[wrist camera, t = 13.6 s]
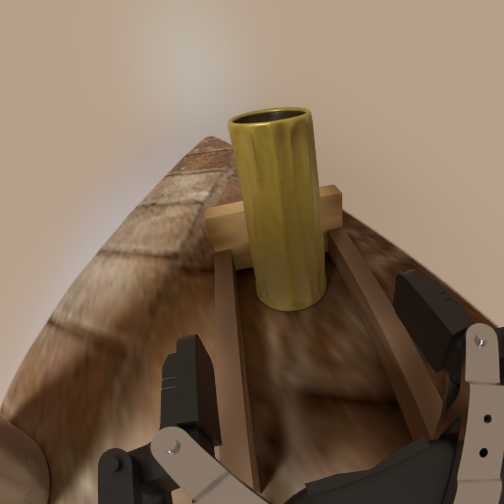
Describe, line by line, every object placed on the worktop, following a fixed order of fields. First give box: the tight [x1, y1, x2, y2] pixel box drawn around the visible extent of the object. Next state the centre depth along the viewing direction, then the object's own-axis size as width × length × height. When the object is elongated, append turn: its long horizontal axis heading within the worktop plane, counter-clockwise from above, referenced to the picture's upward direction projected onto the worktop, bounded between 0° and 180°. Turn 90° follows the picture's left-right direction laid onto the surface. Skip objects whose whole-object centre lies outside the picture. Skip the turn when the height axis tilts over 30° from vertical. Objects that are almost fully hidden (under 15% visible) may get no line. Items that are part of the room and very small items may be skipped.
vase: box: [228, 107, 327, 311], centre depth 21 cm, size 6×6×14 cm
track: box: [205, 185, 443, 494], centre depth 19 cm, size 12×22×6 cm, turn 6°
